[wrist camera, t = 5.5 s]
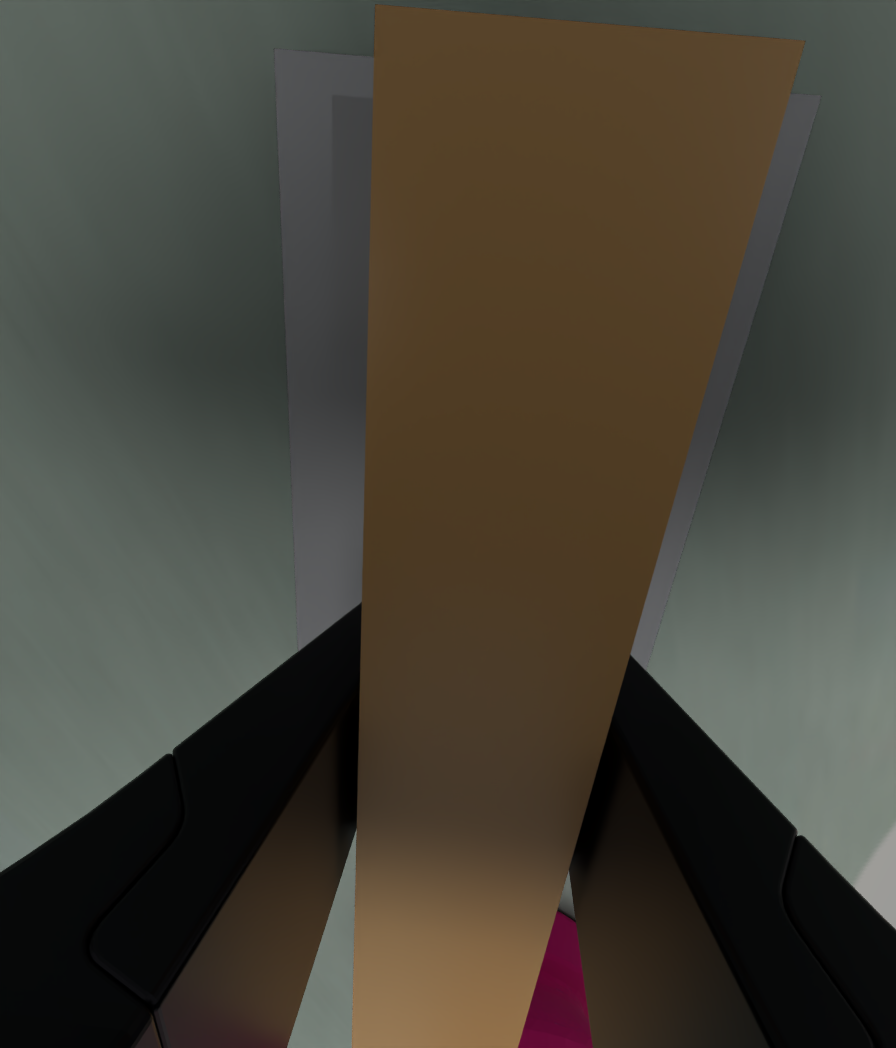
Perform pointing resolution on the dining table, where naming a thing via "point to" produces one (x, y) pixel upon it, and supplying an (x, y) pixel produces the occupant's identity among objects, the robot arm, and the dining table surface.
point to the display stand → (342, 328)
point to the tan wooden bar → (523, 458)
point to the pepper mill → (559, 994)
